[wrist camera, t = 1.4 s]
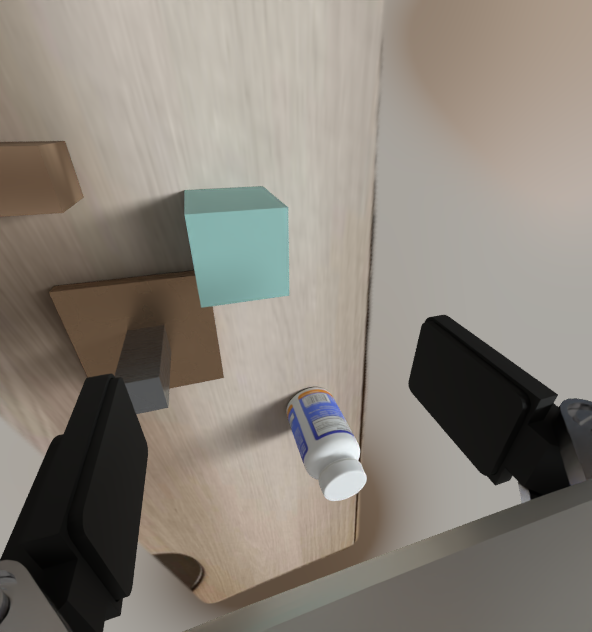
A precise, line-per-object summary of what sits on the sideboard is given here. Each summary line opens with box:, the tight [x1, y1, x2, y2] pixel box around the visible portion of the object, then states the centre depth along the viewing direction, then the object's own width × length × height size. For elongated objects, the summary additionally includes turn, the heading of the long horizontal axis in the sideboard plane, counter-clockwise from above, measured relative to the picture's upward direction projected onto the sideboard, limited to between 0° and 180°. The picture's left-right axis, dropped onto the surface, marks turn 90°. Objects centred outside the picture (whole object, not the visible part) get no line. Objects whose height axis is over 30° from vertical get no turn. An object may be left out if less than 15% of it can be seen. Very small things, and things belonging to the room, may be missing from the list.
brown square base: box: [49, 270, 224, 414], centre depth 22 cm, size 10×10×7 cm
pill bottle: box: [287, 387, 366, 501], centre depth 31 cm, size 5×5×10 cm
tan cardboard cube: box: [0, 141, 83, 217], centre depth 17 cm, size 3×3×4 cm
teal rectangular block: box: [184, 186, 289, 308], centre depth 20 cm, size 5×5×7 cm
